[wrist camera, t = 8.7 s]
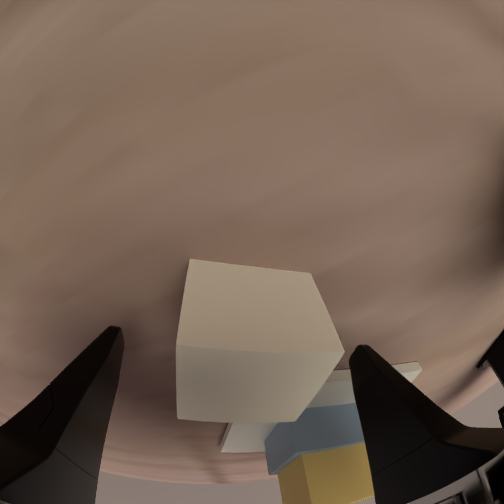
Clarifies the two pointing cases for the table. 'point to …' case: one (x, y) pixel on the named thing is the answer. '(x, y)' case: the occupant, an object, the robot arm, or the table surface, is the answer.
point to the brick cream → (251, 344)
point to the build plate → (330, 394)
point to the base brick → (313, 434)
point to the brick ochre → (328, 477)
